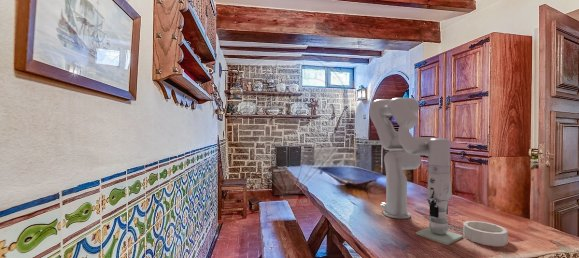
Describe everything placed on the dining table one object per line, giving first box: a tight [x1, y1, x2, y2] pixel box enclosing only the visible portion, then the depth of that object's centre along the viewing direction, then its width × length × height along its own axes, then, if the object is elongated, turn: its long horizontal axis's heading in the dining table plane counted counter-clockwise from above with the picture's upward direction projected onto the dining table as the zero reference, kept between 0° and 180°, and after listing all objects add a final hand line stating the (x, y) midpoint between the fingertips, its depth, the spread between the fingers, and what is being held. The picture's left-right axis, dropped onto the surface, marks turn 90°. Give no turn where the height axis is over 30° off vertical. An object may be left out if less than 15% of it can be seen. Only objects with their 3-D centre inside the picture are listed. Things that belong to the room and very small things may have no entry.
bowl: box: [462, 220, 509, 247], centre depth 102 cm, size 13×13×4 cm
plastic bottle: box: [428, 195, 450, 235], centre depth 105 cm, size 6×7×20 cm
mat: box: [415, 227, 464, 246], centre depth 105 cm, size 12×12×1 cm
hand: (438, 214), depth 105 cm, fingers open, 6 cm apart
